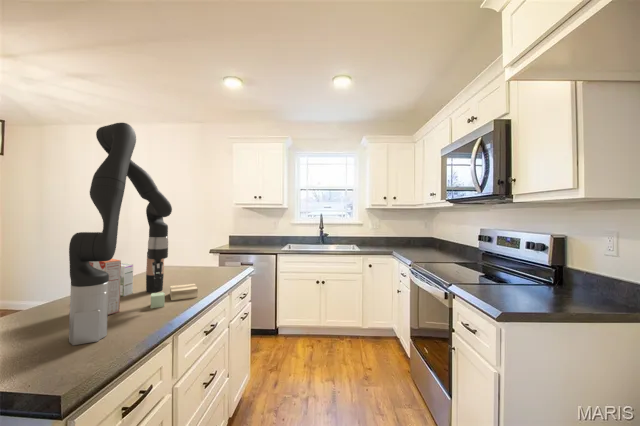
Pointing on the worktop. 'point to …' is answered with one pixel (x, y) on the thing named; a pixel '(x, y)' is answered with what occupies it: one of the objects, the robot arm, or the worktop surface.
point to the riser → (183, 291)
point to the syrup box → (126, 279)
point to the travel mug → (152, 277)
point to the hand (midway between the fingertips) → (157, 284)
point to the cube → (157, 300)
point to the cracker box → (111, 282)
